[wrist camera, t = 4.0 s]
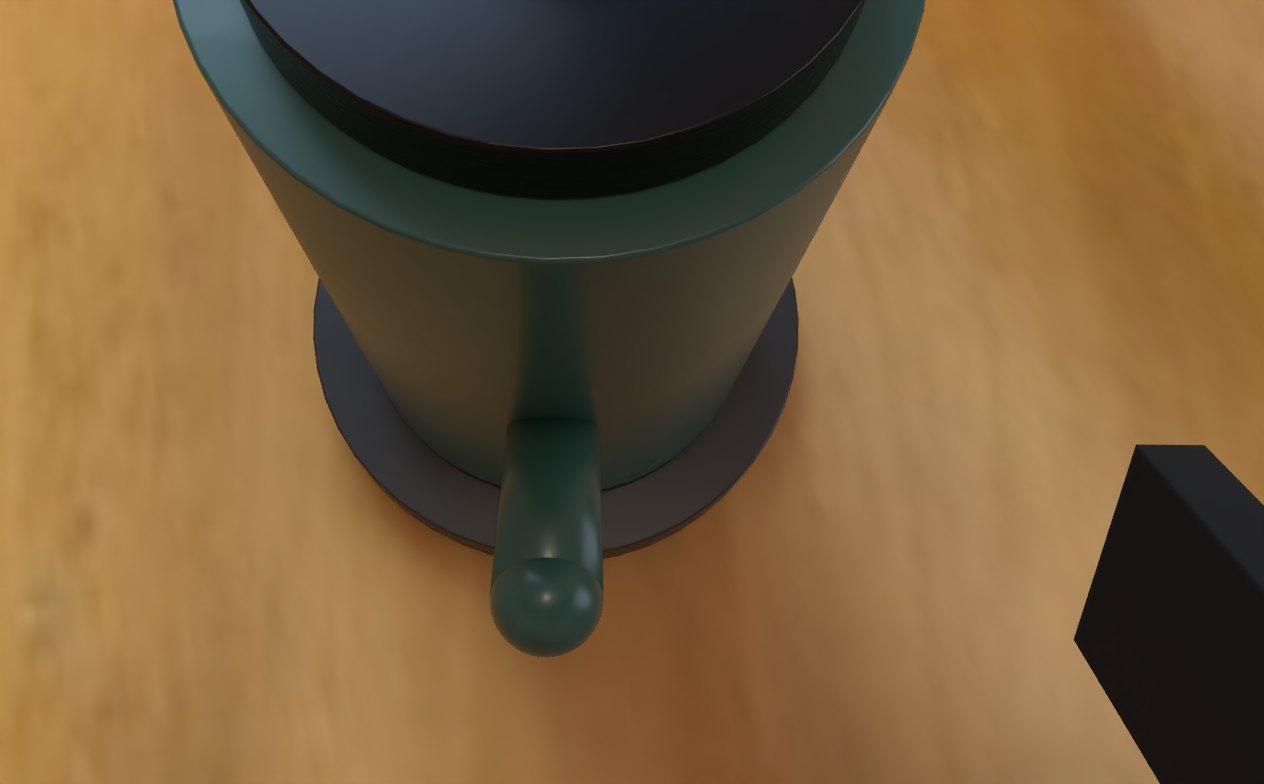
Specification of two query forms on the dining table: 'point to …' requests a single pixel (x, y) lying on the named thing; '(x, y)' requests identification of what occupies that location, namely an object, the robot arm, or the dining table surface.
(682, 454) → the kettle base
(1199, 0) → the dining table surface
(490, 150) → the kettle
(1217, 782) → the robot arm
